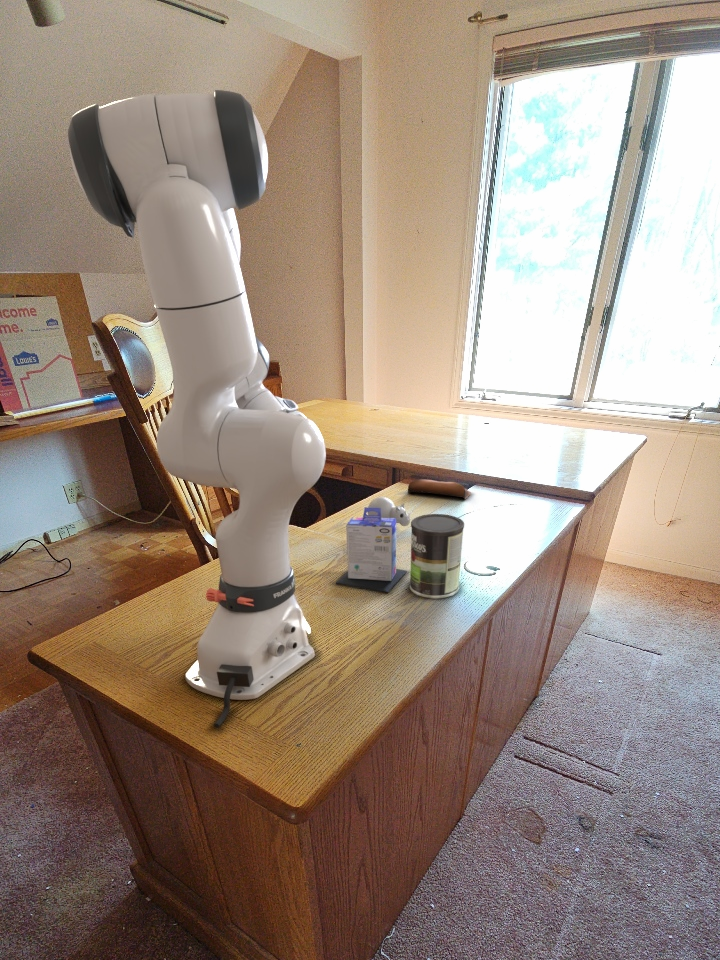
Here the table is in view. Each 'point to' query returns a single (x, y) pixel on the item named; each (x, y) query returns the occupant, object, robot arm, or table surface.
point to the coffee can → (435, 555)
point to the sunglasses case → (438, 488)
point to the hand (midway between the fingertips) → (310, 471)
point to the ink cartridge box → (371, 546)
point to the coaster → (372, 582)
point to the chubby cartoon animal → (390, 510)
